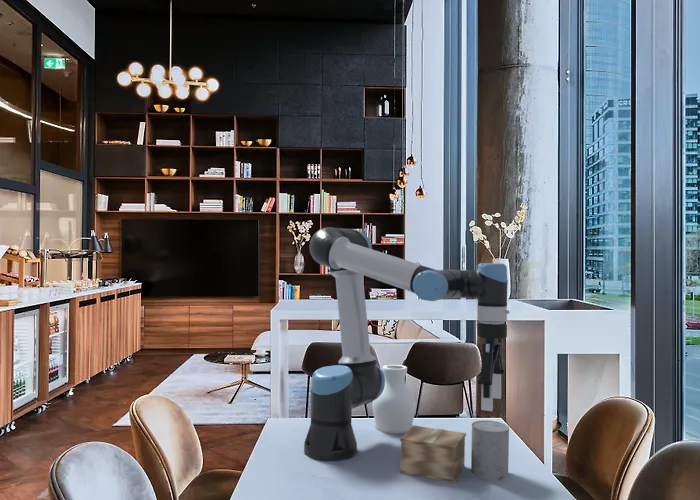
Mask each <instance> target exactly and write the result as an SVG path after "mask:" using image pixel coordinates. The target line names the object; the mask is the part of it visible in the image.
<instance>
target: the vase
mask: <svg viewBox="0 0 700 500" xmlns="http://www.w3.org/2000/svg"><path fill="white" fill-rule="evenodd" d="M381 370H382V371H383V374H384V377H385V386H384V390H383V392H382V394H381V395H380V396H379V397H378V398H377V399H376V400H374V401H372V402H371V403H372V404H371V405H372V413H373V418H374V423H375V425H374V427H375V429H376V430H377V431H379V432H381V433H384V434H385V433H386V434H390V435H391V434H392V435H393V434H394V435H395V434H396V435H397V434H398V433H399V435H401V434H400V433H402V434H406V432H408V431H409V430H410V429H411V428H412V427H413V423H414V418H415V414H416V408H417V401H416V397H415V395H414V393H412V391H411V390H410V388H409V387H408V386H407V384H406V381H405V380H406V379H405V378H406V375H407V372H408V366H406V365H402V364H385V365H383V366H382V369H381Z"/></svg>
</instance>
